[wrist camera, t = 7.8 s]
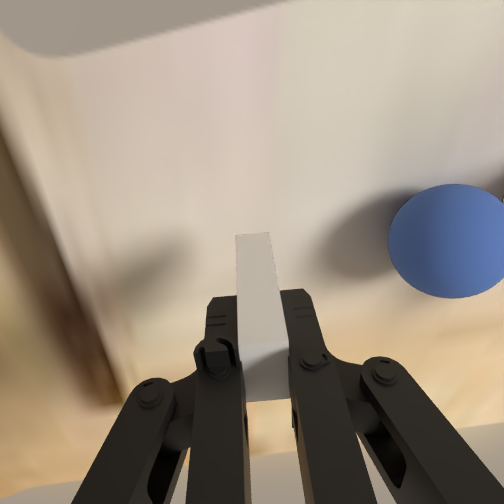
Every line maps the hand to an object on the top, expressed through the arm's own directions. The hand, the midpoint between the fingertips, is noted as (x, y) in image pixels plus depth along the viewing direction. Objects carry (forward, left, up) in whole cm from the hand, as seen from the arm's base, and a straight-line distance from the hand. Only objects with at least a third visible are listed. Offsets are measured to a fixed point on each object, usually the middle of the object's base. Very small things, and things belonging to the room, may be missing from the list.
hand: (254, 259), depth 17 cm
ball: (+8, +6, -2) cm, 11 cm away
